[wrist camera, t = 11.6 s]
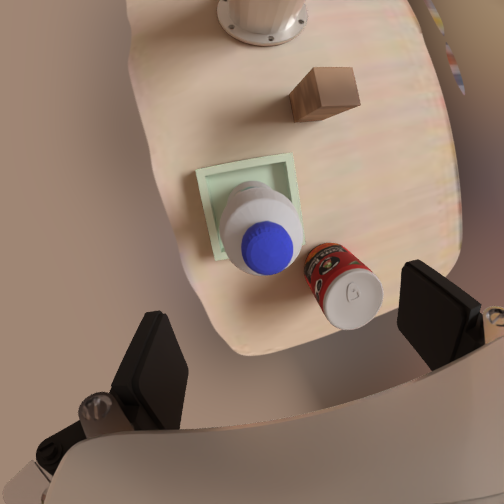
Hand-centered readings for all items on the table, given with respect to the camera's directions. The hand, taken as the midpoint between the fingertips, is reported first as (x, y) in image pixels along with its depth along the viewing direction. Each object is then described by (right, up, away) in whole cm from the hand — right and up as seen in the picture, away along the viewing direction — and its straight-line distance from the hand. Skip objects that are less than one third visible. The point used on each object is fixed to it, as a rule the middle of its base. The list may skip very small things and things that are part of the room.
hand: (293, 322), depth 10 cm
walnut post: (+6, +22, +22) cm, 32 cm away
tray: (-2, +9, +26) cm, 28 cm away
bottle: (-2, +9, +26) cm, 27 cm away
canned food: (+10, +1, +30) cm, 32 cm away
